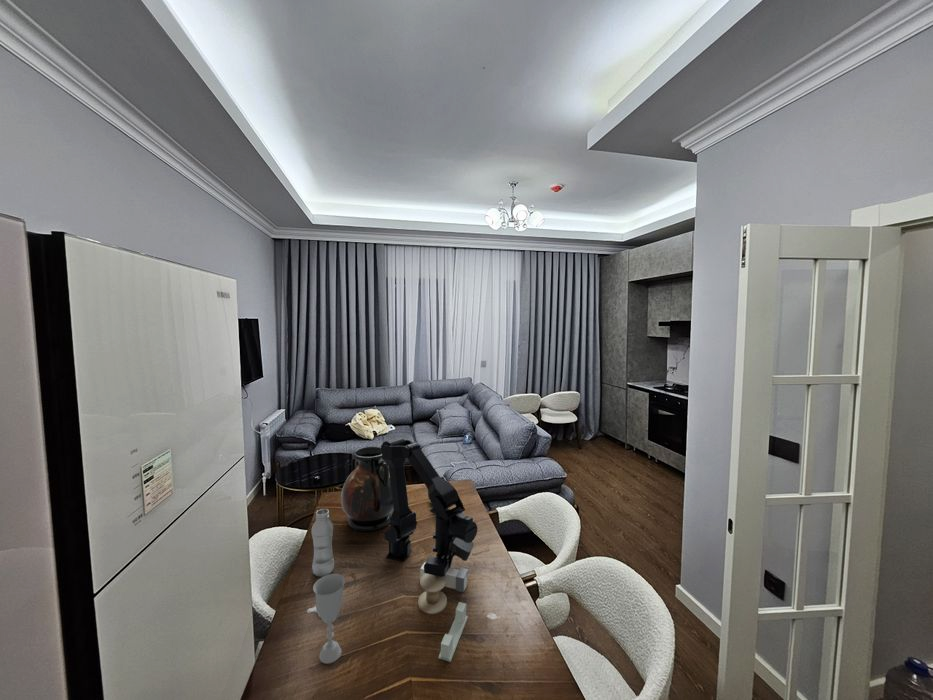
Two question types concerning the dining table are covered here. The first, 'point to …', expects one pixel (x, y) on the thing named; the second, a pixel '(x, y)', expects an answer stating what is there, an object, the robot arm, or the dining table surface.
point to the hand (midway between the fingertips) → (444, 578)
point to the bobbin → (432, 594)
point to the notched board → (453, 634)
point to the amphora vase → (367, 491)
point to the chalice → (329, 611)
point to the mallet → (453, 578)
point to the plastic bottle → (322, 544)
